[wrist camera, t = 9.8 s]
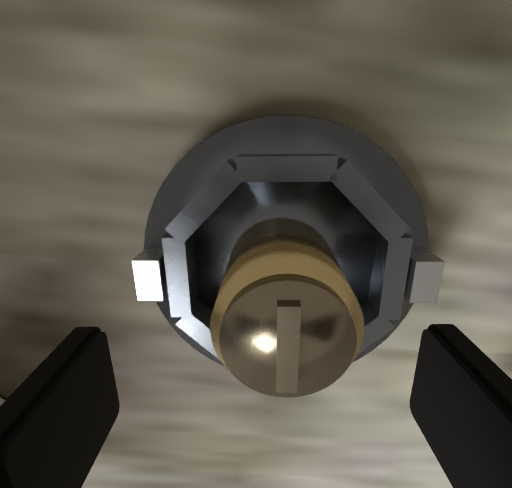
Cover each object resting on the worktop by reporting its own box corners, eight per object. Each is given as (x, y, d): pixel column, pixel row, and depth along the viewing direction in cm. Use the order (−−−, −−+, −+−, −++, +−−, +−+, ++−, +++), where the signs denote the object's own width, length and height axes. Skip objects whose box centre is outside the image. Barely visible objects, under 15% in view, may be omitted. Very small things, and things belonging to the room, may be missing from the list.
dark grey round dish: (165, 364, 19) (149, 400, 17) (133, 118, 15) (104, 115, 12) (398, 368, 19) (420, 407, 16) (441, 113, 14) (481, 108, 11)
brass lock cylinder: (227, 217, 15) (198, 274, 9) (337, 217, 15) (383, 276, 9) (231, 312, 17) (209, 413, 11) (329, 314, 17) (364, 417, 10)
